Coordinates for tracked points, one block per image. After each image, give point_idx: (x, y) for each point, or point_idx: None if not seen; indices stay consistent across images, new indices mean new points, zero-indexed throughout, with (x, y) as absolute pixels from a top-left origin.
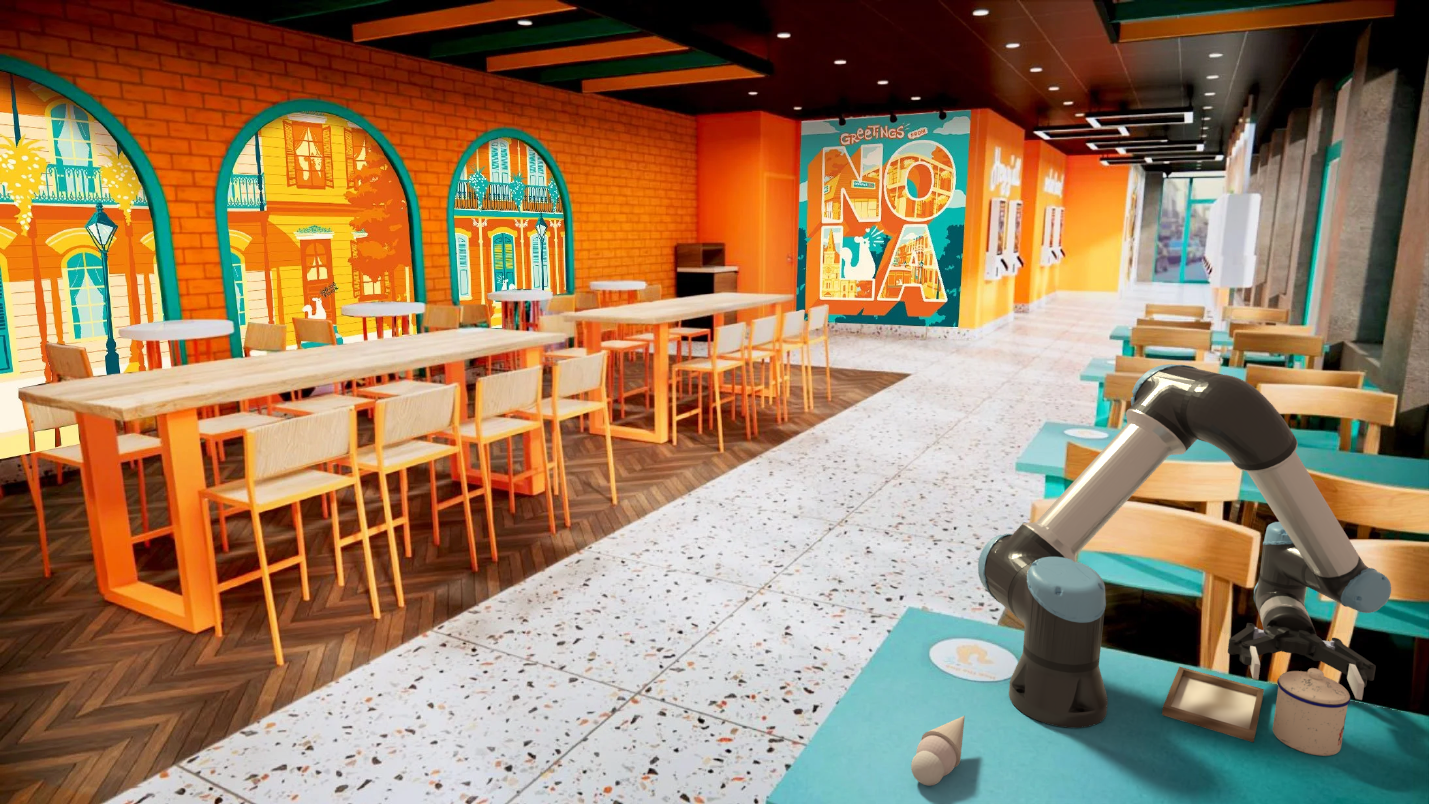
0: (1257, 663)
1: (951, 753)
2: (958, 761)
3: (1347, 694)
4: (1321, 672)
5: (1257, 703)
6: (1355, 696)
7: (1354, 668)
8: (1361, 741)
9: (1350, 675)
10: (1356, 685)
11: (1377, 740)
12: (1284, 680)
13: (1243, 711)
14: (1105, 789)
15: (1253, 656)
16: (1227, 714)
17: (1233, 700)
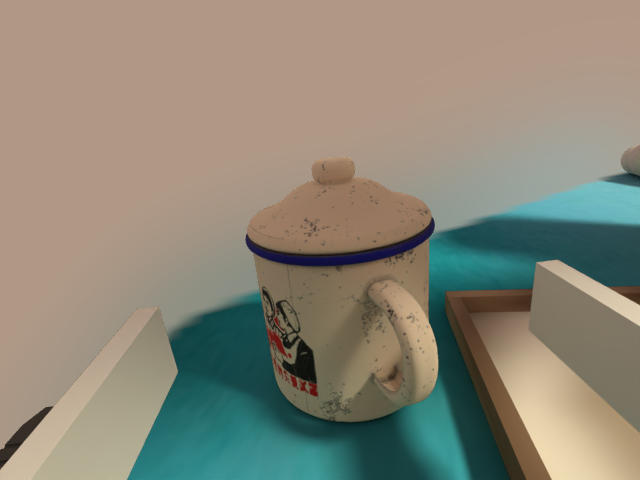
0: (551, 264)
1: (636, 149)
2: (638, 165)
3: (257, 213)
4: (318, 160)
5: (507, 408)
6: (173, 374)
7: (42, 439)
8: (205, 427)
9: (87, 474)
10: (155, 344)
11: (147, 458)
12: (410, 196)
13: (529, 399)
14: (530, 205)
15: (621, 297)
16: (549, 363)
17: (607, 454)
